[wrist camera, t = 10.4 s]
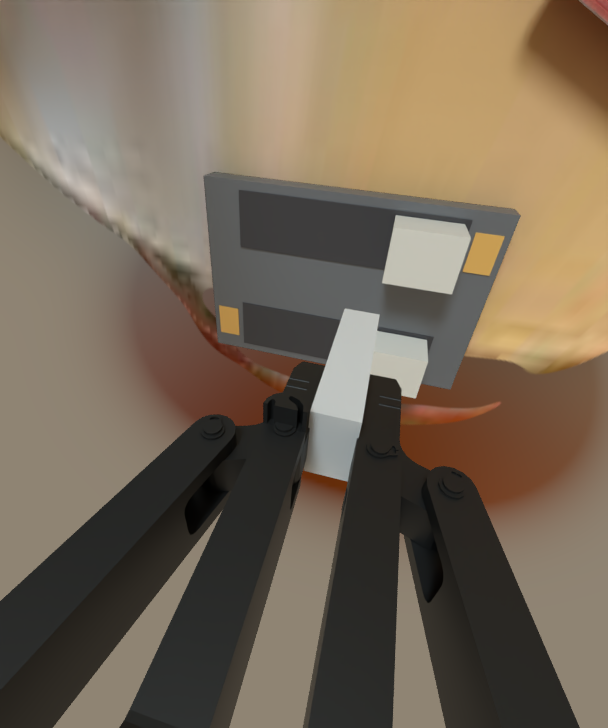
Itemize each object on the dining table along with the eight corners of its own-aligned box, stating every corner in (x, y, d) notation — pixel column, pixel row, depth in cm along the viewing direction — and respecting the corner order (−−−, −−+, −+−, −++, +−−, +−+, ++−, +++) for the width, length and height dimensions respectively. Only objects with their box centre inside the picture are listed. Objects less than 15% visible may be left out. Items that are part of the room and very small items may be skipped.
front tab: (384, 266, 29) (381, 283, 27) (395, 215, 27) (393, 227, 24) (448, 276, 29) (451, 294, 26) (465, 224, 26) (471, 238, 23)
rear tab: (363, 364, 35) (359, 386, 33) (371, 329, 33) (367, 350, 30) (415, 375, 35) (415, 398, 32) (427, 340, 32) (428, 361, 29)
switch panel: (225, 333, 40) (217, 342, 38) (214, 172, 31) (203, 175, 29) (448, 377, 36) (450, 390, 35) (514, 209, 27) (520, 215, 25)
